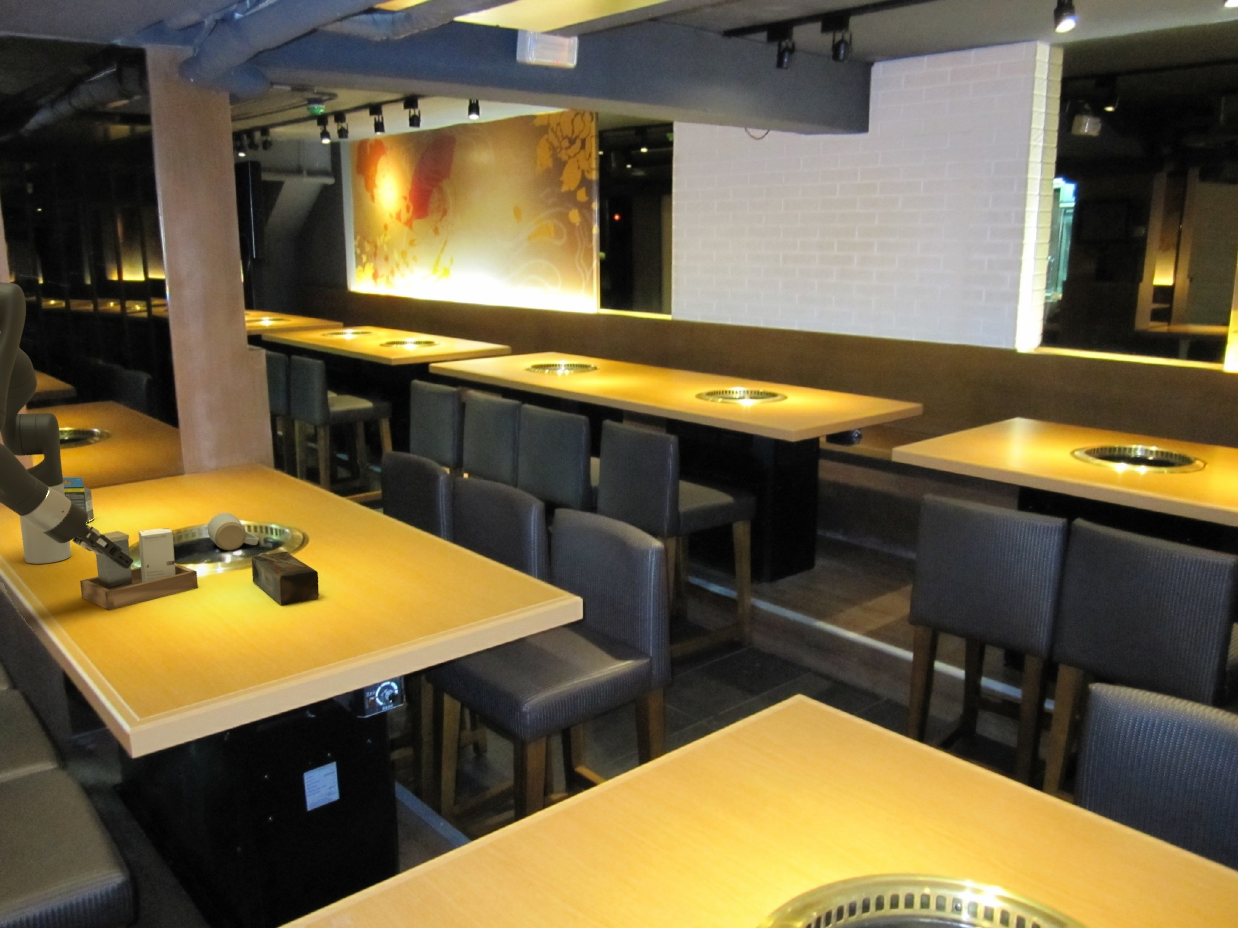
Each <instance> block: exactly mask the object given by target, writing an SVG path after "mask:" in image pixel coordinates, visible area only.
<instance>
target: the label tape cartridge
mask: <svg viewBox="0 0 1238 928" xmlns="http://www.w3.org/2000/svg"><path fill="white" fill-rule="evenodd" d="M65 481H66V482H67V483H64V482H65ZM63 484H64V493H65V497H66V498H68V499H69V500H71V501H72V502H73V503H75V504H76V505H78V506H79V507H81V508H82V509H83V510H85V511H86V512H87V514H88V520H87V522H89V520H91V519H93V518H94V519H95V517H94V516H95V515H94V514H95V513H94V505H93V497H92V496H93V495H92V490H91V488H88V487H86V486H84V480H83V477H82V476H81V477H76V476H75V477H63Z"/></svg>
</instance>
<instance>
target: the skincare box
mask: <svg viewBox="0 0 1238 928" xmlns="http://www.w3.org/2000/svg"><path fill="white" fill-rule="evenodd" d="M138 544H139V547H138V548H139V557H140V558H139V559H140V567H141V573H142V583H144V582H148V581H152V580H156V579H160V578H165V577H169V576H173V575H175V549H174V532H173V531H172V529H171V528H169V527H164V528H151V529H147V530H146V529H144V530H139V531H138Z"/></svg>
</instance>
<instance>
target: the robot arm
mask: <svg viewBox="0 0 1238 928" xmlns="http://www.w3.org/2000/svg"><path fill="white" fill-rule="evenodd" d="M26 313H27V303H26V296H25V294H24V291H23V289H22V287H21V286H20V285H18V284H16V283H12V282H3V281H1V282H0V435H1V440H2V443H3V444H2V443H0V503H1V504H2V505H3V506H5V507H7V508H8V509H9V510H11V511H13V512H14V513H16V514H17V515H19V520H20V529H21V531H20V532H21V539H22V547H23V548H22V549H23V557H24V562H25V563H27V564H34V565H35V564H36V565H38V564H50V563H57V562H61V561H63V560H66V559H69V558H70V557H71V556H72V548H71V542H73V543H74V544H76V545H78V546H81V547H82V548H83V549H85V550H86V551H88V552H93V553H94V554H95V555H96V554H103V555H105V556H106V557H108V559H111V560H113V561H115V562H116V563H118V564H119V565H120V566H122V567H123V568H126V569H127V568H129V567H130V565H132V564H133V563H134V559H133V558H131V556H130V557H129V556H127V555H126V554H124V553H123V552H122V551H121V550H122V549H121V548H120V547H118V546H117V545H116V544H114V543H113V542H112V541H111V540H110V539H108V538H107V537H105V535H102V534H103V533H101V532H100V531H99V529H97V528H96V527H94V526H89V525H88V524H86V522H87V520H88V514H87V512H86V511H85V510H83V509H82V508H81V507H79V506H78V505H76V504H75V503H73V502H72V501H71V500H69V499H68V498H66V497H65V493H64V484H65V483H64V482H63V478H64V477H63V468H62V459H61V440H60V439H61V438H60V437H61V435H60V426H59V421H58V418H57V416H56V415H55V414H54V413H52V412H38V413H37V412H34V413H31V412H30V413H20V412H21V410H23V408H24V407H25V406H26V405H27V404H28V402H29V401H30V400H31V399H32V398H33V396H34V395H35V392H36V390H37V387H38V386H37V385H38V379H37V376H36V372H35V369H34V366H33V363H32V361H31V359H30V357H29V356H28V355H27V353H26V352H24V350H23V349H21V348H20V344H21V339H22V334H23V331H24V326H25V322H26V315H27V314H26ZM36 455H37V456H39V455H40V456H41V455H43V460H42V461H40V462H39V463H38V464H35V465H34V466H32V467H29V468H26V467H25V465H24V464H23V463H22V462H21V461H20V459H18V458H17V457H16V456H20V457H21V456H22V457H23V456H36ZM112 548H113V549H112ZM96 549H98V550H96ZM111 549H112V551H111V552H110V553H109V551H110V550H111Z"/></svg>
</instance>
